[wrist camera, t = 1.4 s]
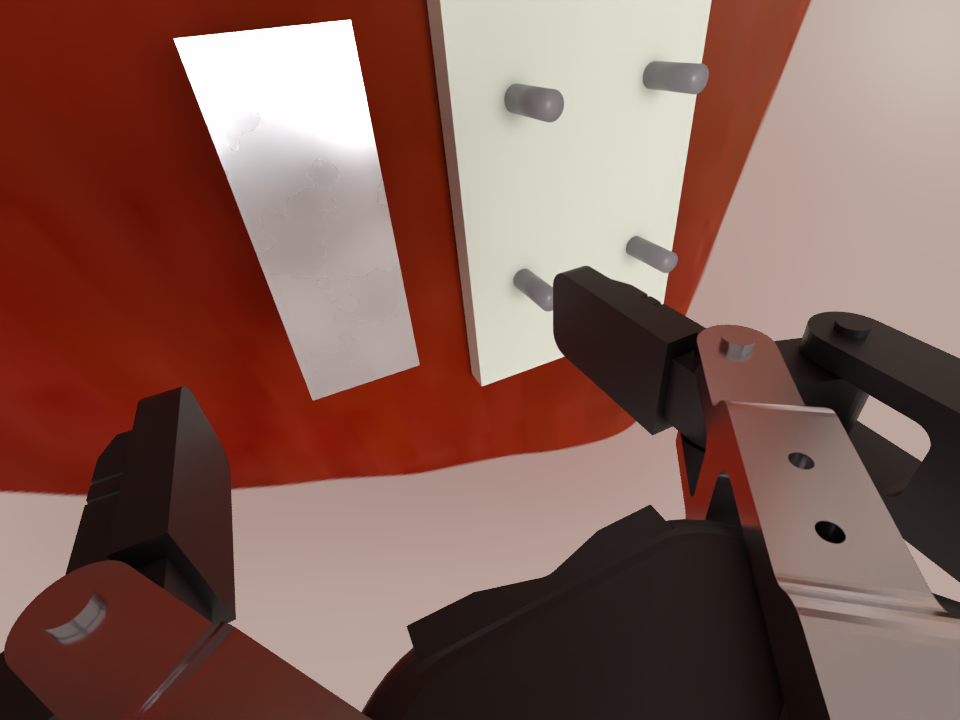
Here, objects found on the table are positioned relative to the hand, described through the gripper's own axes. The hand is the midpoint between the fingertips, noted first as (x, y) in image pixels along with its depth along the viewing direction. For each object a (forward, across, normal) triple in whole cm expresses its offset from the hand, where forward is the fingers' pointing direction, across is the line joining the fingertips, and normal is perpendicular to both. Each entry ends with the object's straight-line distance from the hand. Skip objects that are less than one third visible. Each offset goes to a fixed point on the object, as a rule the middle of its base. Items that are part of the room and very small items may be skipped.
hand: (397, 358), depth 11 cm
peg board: (+14, -14, +2) cm, 20 cm away
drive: (+15, 0, 0) cm, 15 cm away
